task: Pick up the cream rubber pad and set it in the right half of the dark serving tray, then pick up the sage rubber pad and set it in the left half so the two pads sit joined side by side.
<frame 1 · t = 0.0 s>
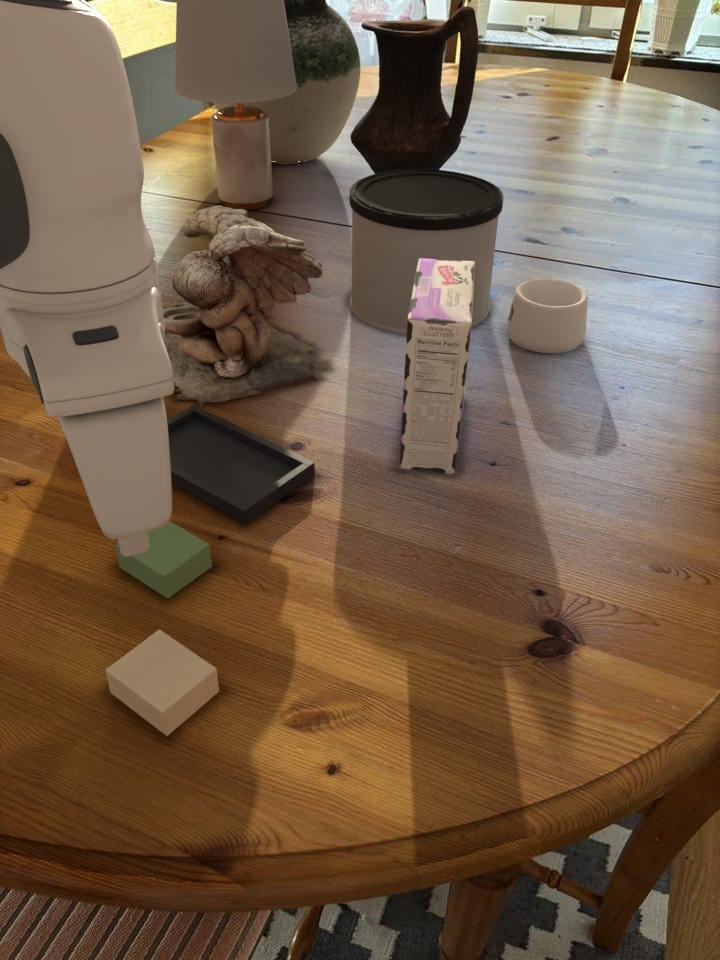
hand: (119, 503, 56), 14 cm above the table, tool pointing down, fingers open, 8 cm apart
container: (419, 305, 115), on the table
candy box: (432, 435, 89), on the table
sage pad: (166, 567, 72), on the table
vase: (286, 158, 167), on the table
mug: (544, 334, 108), on the table
dark serving tray: (218, 466, 84), on the table
cream pad: (165, 692, 62), on the table
jug: (408, 198, 149), on the table
cherub figurine: (238, 359, 102), on the table
lamp: (244, 203, 146), on the table
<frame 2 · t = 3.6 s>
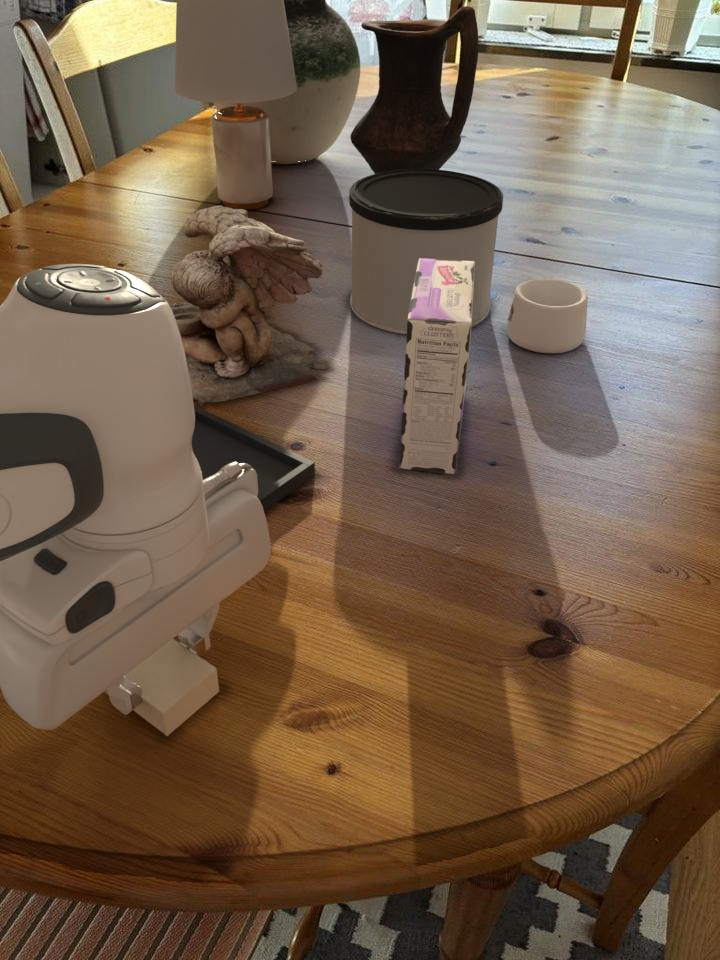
hand: (162, 676, 61), 2 cm above the table, tool pointing down, fingers closed on cream pad, 5 cm apart
cream pad: (165, 692, 62), on the table, touching gripper
everything else where it was.
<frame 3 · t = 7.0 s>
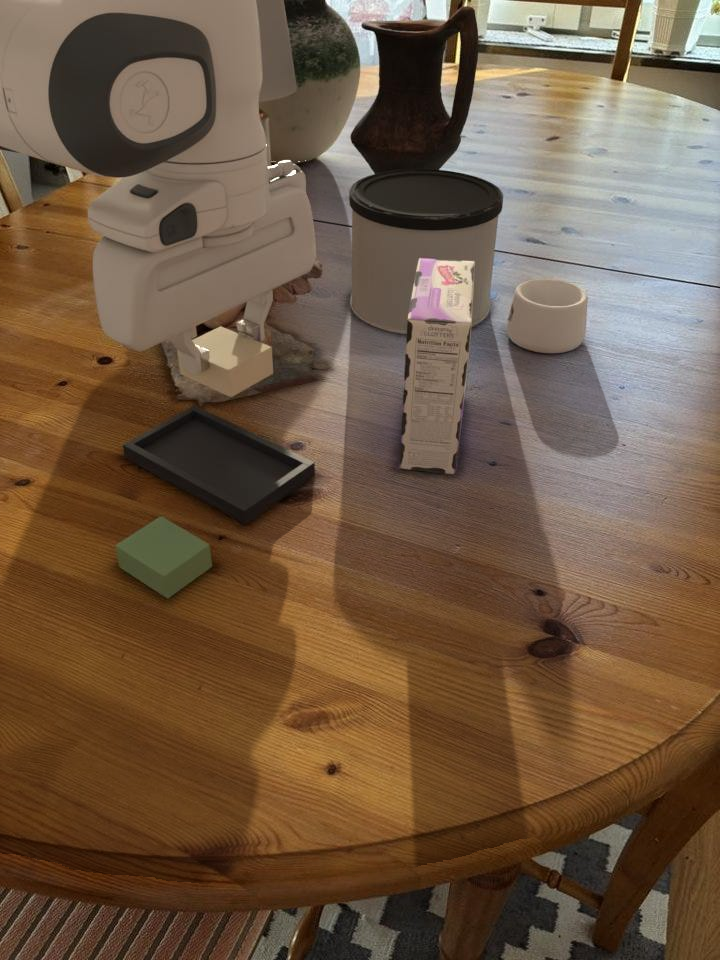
hand: (224, 355, 71), 15 cm above the table, tool pointing down, fingers closed on cream pad, 5 cm apart
cream pad: (226, 373, 72), point 13 cm above the table, touching gripper
everything else where it was.
when the fingers open (2 cm above the table, at t = 10.5 s): cream pad stays where it is, resting on dark serving tray.
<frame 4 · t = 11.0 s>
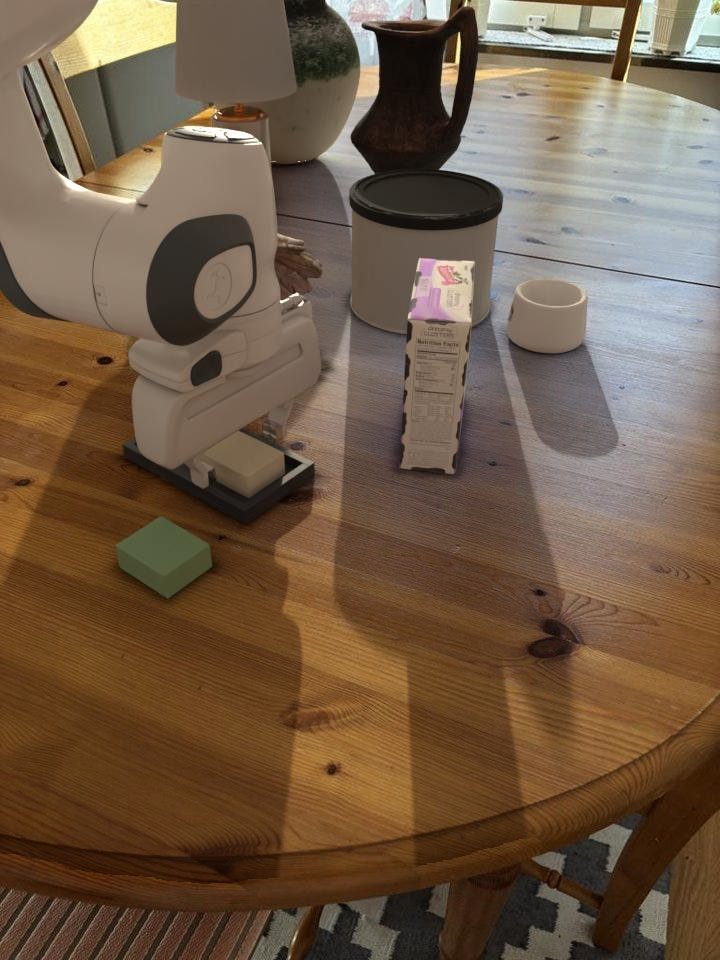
hand: (240, 459, 81), 2 cm above the table, tool pointing down, fingers open, 8 cm apart
cream pad: (244, 474, 82), point 1 cm above the table, touching dark serving tray
everything else where it was.
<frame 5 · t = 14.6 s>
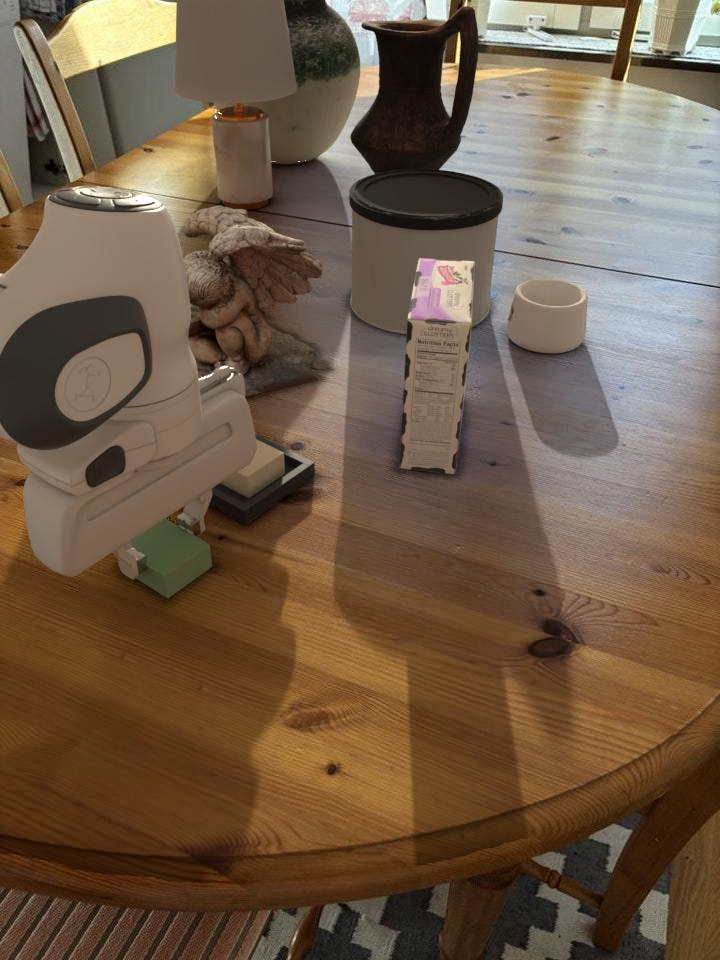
hand: (163, 552, 71), 2 cm above the table, tool pointing down, fingers closed on sage pad, 5 cm apart
sage pad: (166, 567, 72), on the table, touching gripper
everything else where it was.
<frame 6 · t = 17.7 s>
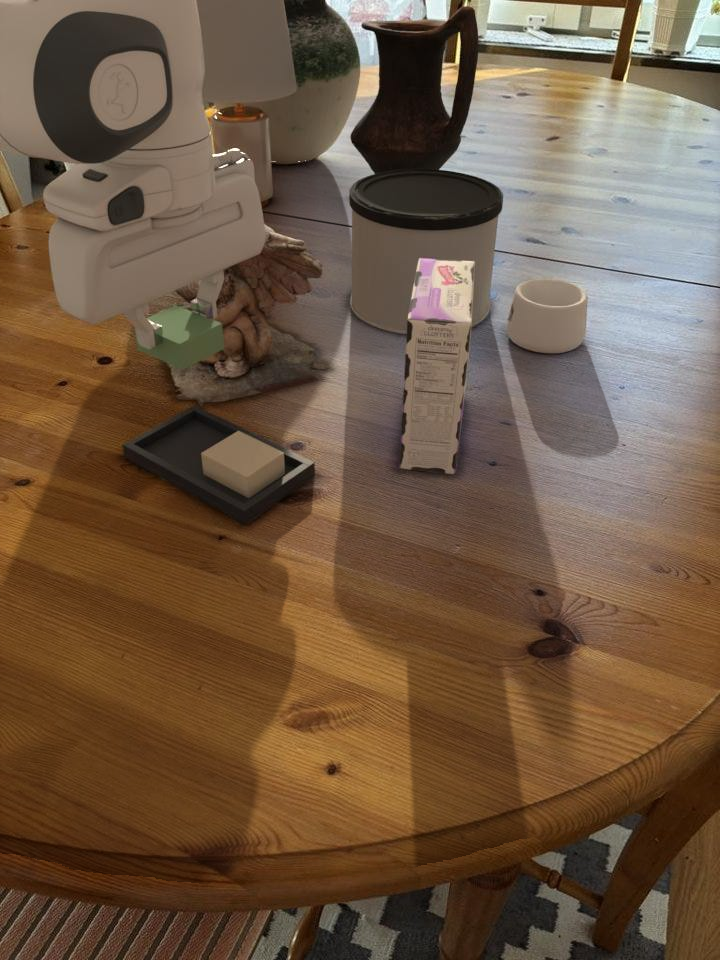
hand: (178, 331, 76), 14 cm above the table, tool pointing down, fingers closed on sage pad, 5 cm apart
sage pad: (180, 349, 77), point 13 cm above the table, touching gripper
everything else where it was.
when the fingers open (2 cm above the table, at t = 20.8 s): sage pad stays where it is, resting on dark serving tray.
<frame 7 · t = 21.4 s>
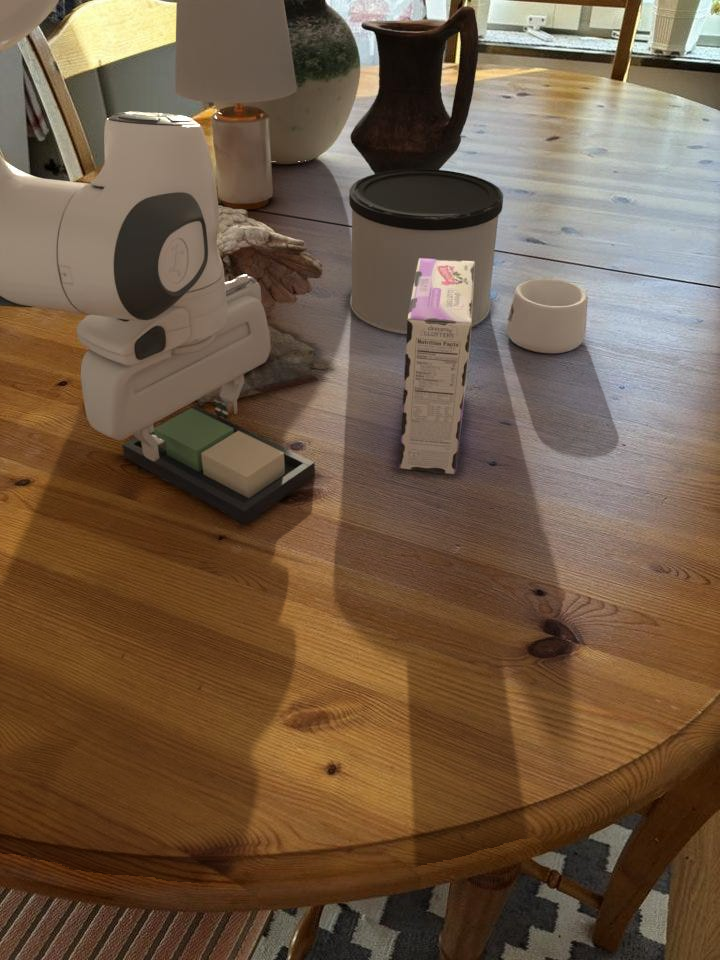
hand: (192, 434, 84), 2 cm above the table, tool pointing down, fingers open, 8 cm apart
sage pad: (196, 449, 85), point 1 cm above the table, touching dark serving tray
everything else where it was.
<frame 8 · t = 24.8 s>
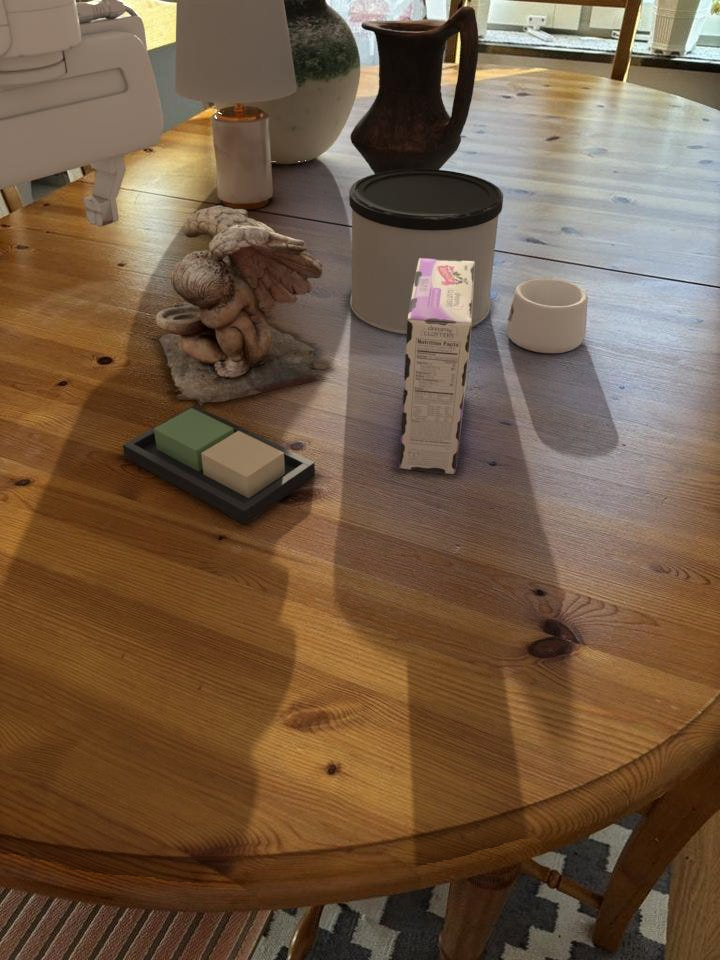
hand: (47, 241, 59), 27 cm above the table, tool pointing down, fingers open, 8 cm apart
nothing on the table moved.
at the end: cream pad 0.2 cm from the target spot in the dark serving tray, point 0.6 cm above the dark serving tray's base; sage pad 0.1 cm from the target spot in the dark serving tray, point 0.6 cm above the dark serving tray's base; sage pad 6.6 cm from the cream pad (horizontally) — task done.
